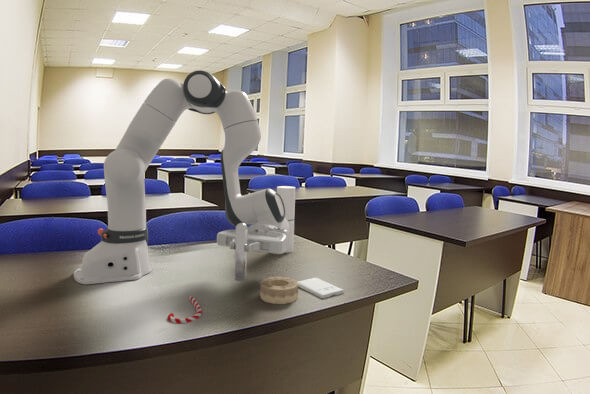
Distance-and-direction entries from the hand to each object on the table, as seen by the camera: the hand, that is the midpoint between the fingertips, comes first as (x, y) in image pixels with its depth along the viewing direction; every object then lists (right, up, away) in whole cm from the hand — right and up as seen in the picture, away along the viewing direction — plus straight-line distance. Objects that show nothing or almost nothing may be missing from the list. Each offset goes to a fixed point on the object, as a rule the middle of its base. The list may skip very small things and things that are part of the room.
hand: (239, 247), depth 112 cm
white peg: (0, -9, +2) cm, 9 cm away
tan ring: (+10, -14, +4) cm, 18 cm away
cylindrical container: (+11, -8, +52) cm, 54 cm away
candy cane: (-13, -16, -7) cm, 21 cm away
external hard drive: (+22, -14, +11) cm, 29 cm away
